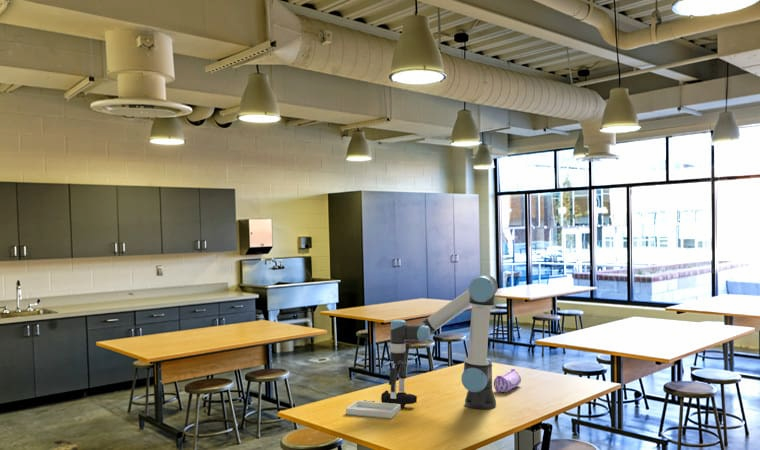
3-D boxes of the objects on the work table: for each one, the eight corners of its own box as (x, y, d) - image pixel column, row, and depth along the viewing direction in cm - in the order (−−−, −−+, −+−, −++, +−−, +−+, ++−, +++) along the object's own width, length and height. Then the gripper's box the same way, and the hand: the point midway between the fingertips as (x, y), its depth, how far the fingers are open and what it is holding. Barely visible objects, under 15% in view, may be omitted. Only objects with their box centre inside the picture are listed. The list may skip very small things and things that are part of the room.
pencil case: (506, 384, 338) (506, 367, 338) (522, 386, 333) (522, 369, 333) (492, 393, 319) (492, 375, 319) (509, 395, 314) (509, 377, 314)
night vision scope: (416, 412, 292) (413, 403, 285) (381, 410, 296) (377, 402, 289) (418, 397, 297) (415, 387, 290) (383, 396, 302) (379, 386, 294)
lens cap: (376, 404, 300) (376, 400, 300) (372, 407, 294) (372, 403, 294) (365, 403, 302) (365, 399, 302) (361, 406, 296) (361, 402, 296)
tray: (400, 410, 287) (400, 404, 287) (391, 419, 273) (391, 412, 273) (357, 406, 294) (357, 400, 294) (345, 414, 281) (345, 408, 281)
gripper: (398, 346, 308) (397, 388, 307) (382, 355, 284) (382, 400, 284) (412, 347, 306) (411, 389, 305) (397, 356, 282) (397, 402, 281)
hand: (397, 395), depth 294 cm, fingers open, 13 cm apart
